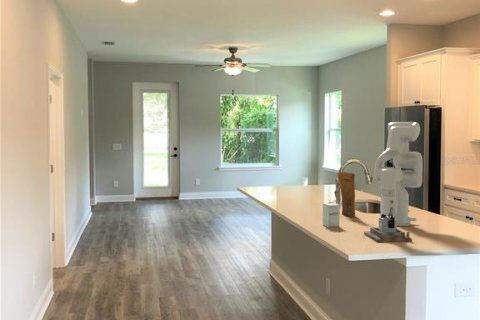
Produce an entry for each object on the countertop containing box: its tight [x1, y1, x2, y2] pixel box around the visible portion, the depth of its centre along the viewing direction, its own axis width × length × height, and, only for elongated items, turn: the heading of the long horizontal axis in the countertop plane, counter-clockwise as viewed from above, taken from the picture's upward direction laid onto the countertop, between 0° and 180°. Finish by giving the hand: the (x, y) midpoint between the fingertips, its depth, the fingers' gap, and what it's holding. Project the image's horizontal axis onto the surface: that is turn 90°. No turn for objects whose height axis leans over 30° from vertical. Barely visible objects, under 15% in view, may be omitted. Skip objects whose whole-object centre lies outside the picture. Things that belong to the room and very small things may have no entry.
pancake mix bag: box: [337, 171, 356, 218], centre depth 314 cm, size 7×19×28 cm, turn 15°
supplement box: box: [322, 202, 341, 228], centre depth 281 cm, size 7×7×13 cm
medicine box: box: [378, 217, 398, 233], centre depth 250 cm, size 8×4×9 cm, turn 96°
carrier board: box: [363, 226, 413, 243], centre depth 250 cm, size 18×18×4 cm
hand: (387, 226), depth 250 cm, fingers open, 9 cm apart
